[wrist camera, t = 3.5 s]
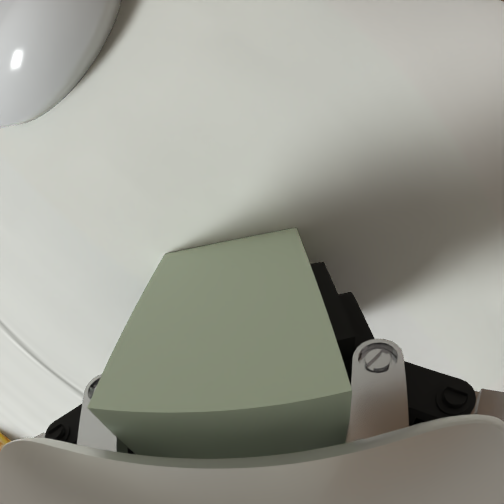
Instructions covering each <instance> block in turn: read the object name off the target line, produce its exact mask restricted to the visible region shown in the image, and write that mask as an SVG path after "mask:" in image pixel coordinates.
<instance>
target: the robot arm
mask: <svg viewBox="0 0 504 504" xmlns="http://www.w3.org/2000/svg"><path fill="white" fill-rule="evenodd" d="M310 265H311V268H312V271H313V274H314V276H315V279H316V282H317V285H318V287H319V290H320V293H321V296H322V299H323V302H324V305H325V308H326V310H327V313H328V316H329V319H330V322H331V325H332V328H333V331H334V334H335V337H336V340H337V343H338V347H339V350H340V353H341V356H342V359H343V362H344V365H345V369H346V372H347V375H348V378H349V382H350V385H351V388H352V398H351V411H350V422H349V423H348V426H347V435H346V443H344V444H340V445H335V446H330V447H325V448H320V449H314V450H308V451H302V452H295V453H288V454H280V455H271V456H260V457H246V458H225V459H190V458H168V457H155V456H145V455H136V454H135V453H134V452H133V451H131V450H130V449H129V448H128V447H127V446H126V445H125V444H124V443H123V442H122V441H121V440H120V439H119V438H118V437H116V436H115V435H114V434H113V433H112V432H111V431H110V430H109V429H108V428H106V427H105V426H104V425H103V424H102V423H101V422H100V421H99V419H98V418H97V417H96V416H95V415H94V414H93V413H92V412H91V411H90V410H89V409H88V408H87V407H88V405H89V403H90V400H91V398H92V396H93V393H94V391H95V389H96V387H97V384H98V382H99V380H100V378H101V376H102V374H101V375H98V376H97V377H95V378H93V379H92V380H91V381H90V382H89V383H88V385H87V386H86V389H85V391H84V397H83V403H82V404H81V405H79V406H78V407H76V408H75V409H73V410H72V411H70V412H69V413H67V414H65V415H64V416H62V417H61V418H59V419H57V420H56V421H54V422H53V423H52V424H51V425H50V426H49V427H48V429H47V431H46V433H42V434H40V435H38V436H36V437H34V438H22V439H16V440H13V441H11V442H9V443H7V444H6V445H4V446H3V448H2V449H1V451H0V504H504V392H499V391H492V390H486V389H481V391H480V392H477V391H474V390H473V388H472V386H471V385H470V384H468V383H467V382H466V381H463V380H461V379H458V378H455V377H452V376H448V375H445V374H442V373H439V372H436V371H433V370H429V369H426V368H423V367H420V366H417V365H414V364H411V363H408V362H405V361H404V357H403V353H402V350H401V349H400V347H399V346H398V345H397V344H395V343H394V342H392V341H389V340H386V339H374V337H373V335H372V332H371V330H370V328H369V326H368V324H367V322H366V320H365V318H364V316H363V314H362V311H361V309H360V307H359V305H358V303H357V301H356V299H355V297H354V295H353V294H352V293H351V292H348V293H344V294H339V295H338V293H337V291H336V289H335V287H334V284H333V282H332V280H331V277H330V275H329V273H328V271H327V269H326V266H325V264H324V262H319V263H314V264H310Z"/></svg>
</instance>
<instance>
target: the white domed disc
mask: <svg viewBox="0 0 504 504" xmlns="http://www.w3.org/2000/svg"><path fill="white" fill-rule="evenodd" d="M120 4H121V0H0V128H4V127H8V126H13V125H19V124H23V123H27V122H29V121H32V120H34V119H36V118H38V117H40V116H42V115H43V114H45V113H46V112H48V111H49V110H50V109H52V108H53V107H55V106H56V105H57V104H58V103H59V102H60V101H61V100H62V99H63V98H65V97H66V95H67V94H68V93H69V92H70V91H71V90H72V89H73V88H74V87H75V86H76V85H77V83H78V82H79V81H80V80H81V78H82V77H83V76H84V75H85V73H86V72H87V70H88V69H89V68H90V66H91V65H92V63H93V62H94V60H95V59H96V57H97V55H98V54H99V52H100V51H101V49H102V47H103V45H104V43H105V41H106V39H107V38H108V36H109V34H110V31H111V29H112V27H113V25H114V22H115V20H116V17H117V14H118V11H119V8H120Z"/></svg>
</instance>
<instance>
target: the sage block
mask: <svg viewBox="0 0 504 504" xmlns="http://www.w3.org/2000/svg"><path fill="white" fill-rule="evenodd" d="M351 398H352V388H351V385H350V382H349V378H348V375H347V372H346V369H345V365H344V362H343V359H342V356H341V353H340V350H339V347H338V343H337V340H336V337H335V334H334V331H333V328H332V325H331V322H330V319H329V316H328V313H327V310H326V308H325V305H324V302H323V299H322V296H321V293H320V290H319V287H318V285H317V282H316V279H315V276H314V274H313V271H312V268H311V265H310V263H309V260H308V257H307V254H306V252H305V249H304V246H303V244H302V241H301V239H300V236H299V233H298V231H297V228H291V229H286V230H281V231H276V232H271V233H265V234H260V235H255V236H250V237H245V238H240V239H235V240H230V241H225V242H220V243H215V244H210V245H206V246H201V247H196V248H191V249H186V250H181V251H177V252H172V253H167V254H165V255H164V256H163V258H162V260H161V262H160V263H159V265H158V267H157V269H156V270H155V272H154V274H153V276H152V278H151V279H150V281H149V283H148V285H147V287H146V288H145V290H144V292H143V294H142V296H141V298H140V299H139V301H138V303H137V305H136V307H135V309H134V311H133V313H132V315H131V316H130V318H129V320H128V322H127V324H126V326H125V328H124V330H123V332H122V334H121V336H120V338H119V340H118V342H117V344H116V346H115V348H114V350H113V352H112V354H111V356H110V358H109V361H108V363H107V365H106V367H105V369H104V371H103V373H102V376H101V378H100V380H99V382H98V384H97V387H96V389H95V391H94V393H93V396H92V398H91V400H90V403H89V405H88V407H87V408H88V409H89V410H90V411H91V412H92V413H93V414H94V415H95V416H96V417H97V418H98V419H99V421H100V422H101V423H102V424H103V425H104V426H105V427H106V428H108V429H109V430H110V431H111V432H112V433H113V434H114V435H115V436H116V437H118V438H119V439H120V440H121V441H122V442H123V443H124V444H125V445H126V446H127V447H128V448H129V449H130V450H131V451H133V452H134V453H135V454H136V455H145V456H155V457H168V458H190V459H225V458H246V457H260V456H271V455H280V454H288V453H295V452H302V451H308V450H314V449H320V448H325V447H330V446H335V445H340V444H344V443H346V435H347V426H348V423H349V422H350V411H351Z"/></svg>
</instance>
